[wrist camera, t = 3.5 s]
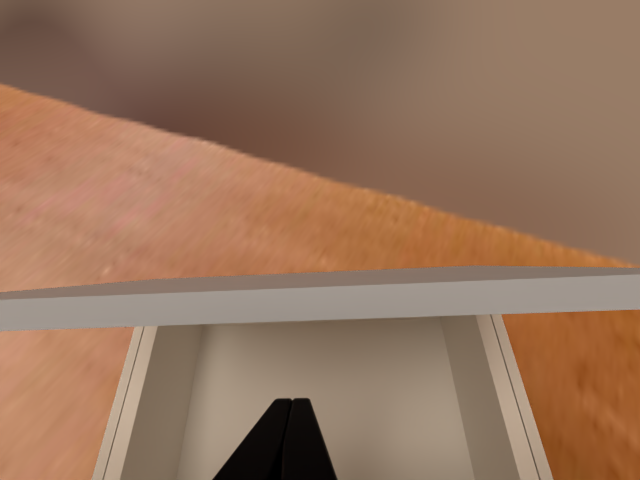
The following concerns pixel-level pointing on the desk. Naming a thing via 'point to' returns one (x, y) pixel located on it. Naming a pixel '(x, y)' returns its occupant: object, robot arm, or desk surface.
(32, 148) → the desk surface
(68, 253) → the desk surface
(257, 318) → the carton flap
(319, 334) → the carton
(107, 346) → the desk surface
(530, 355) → the desk surface
